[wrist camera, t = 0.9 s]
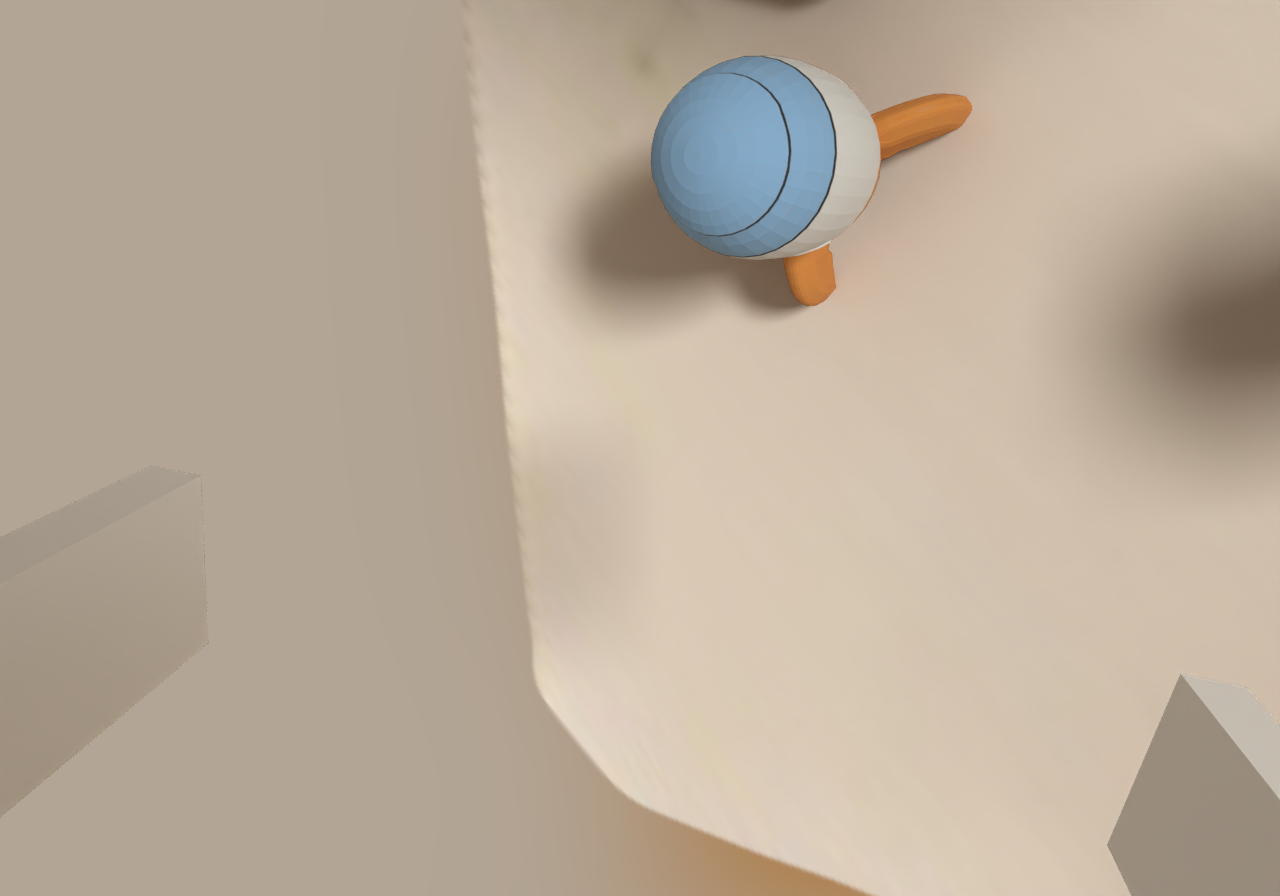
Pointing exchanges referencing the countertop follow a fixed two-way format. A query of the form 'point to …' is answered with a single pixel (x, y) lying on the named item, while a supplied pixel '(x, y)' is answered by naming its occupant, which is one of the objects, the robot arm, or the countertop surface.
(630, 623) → the countertop surface
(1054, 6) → the countertop surface
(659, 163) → the toy rocket
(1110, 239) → the countertop surface
